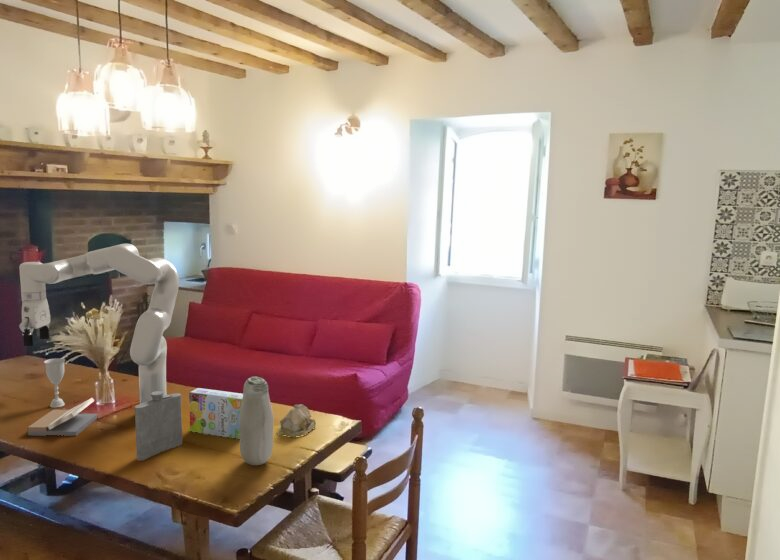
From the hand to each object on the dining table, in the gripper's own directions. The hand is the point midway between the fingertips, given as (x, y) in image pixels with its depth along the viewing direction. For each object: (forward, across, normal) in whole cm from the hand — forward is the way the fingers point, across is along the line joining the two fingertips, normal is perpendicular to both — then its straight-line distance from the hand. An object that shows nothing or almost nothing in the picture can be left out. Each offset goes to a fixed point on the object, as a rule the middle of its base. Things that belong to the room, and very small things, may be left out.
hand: (37, 342), depth 203 cm
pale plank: (+24, -9, -16) cm, 30 cm away
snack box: (+29, -13, -69) cm, 76 cm away
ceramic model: (+29, -10, -96) cm, 101 cm away
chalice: (+28, +11, 0) cm, 30 cm away
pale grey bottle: (+29, -35, -86) cm, 98 cm away
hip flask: (+29, -28, -53) cm, 67 cm away
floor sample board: (+28, -9, -13) cm, 33 cm away
